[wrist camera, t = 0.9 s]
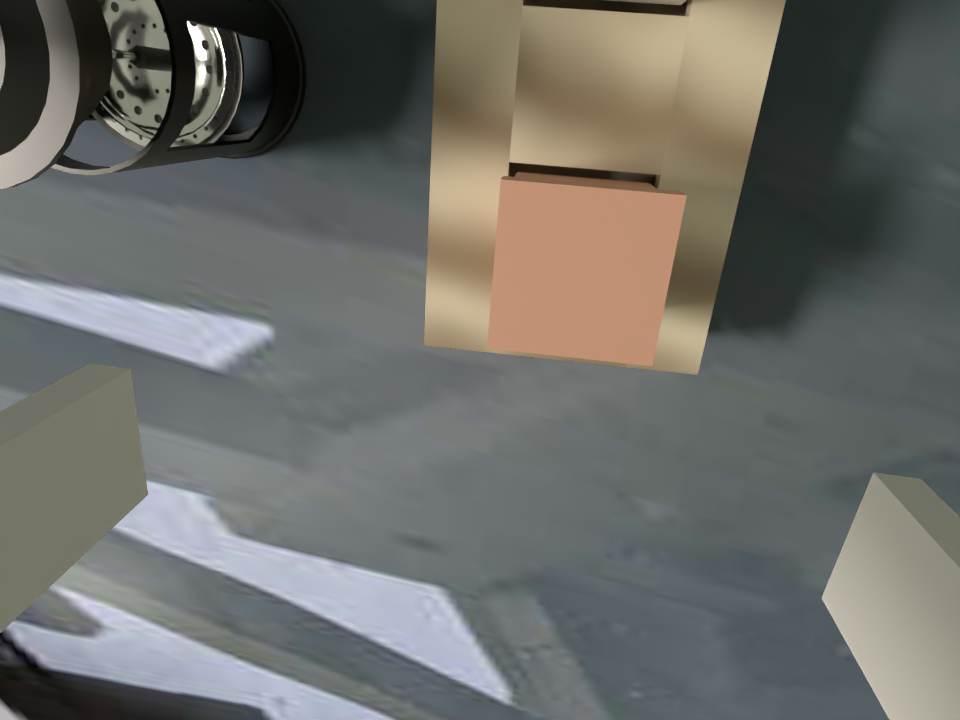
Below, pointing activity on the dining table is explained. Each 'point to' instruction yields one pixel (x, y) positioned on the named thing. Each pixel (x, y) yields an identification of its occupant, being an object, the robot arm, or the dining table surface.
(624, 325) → the terracotta key
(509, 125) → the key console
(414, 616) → the dining table surface
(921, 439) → the dining table surface
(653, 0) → the cream key
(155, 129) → the french press
